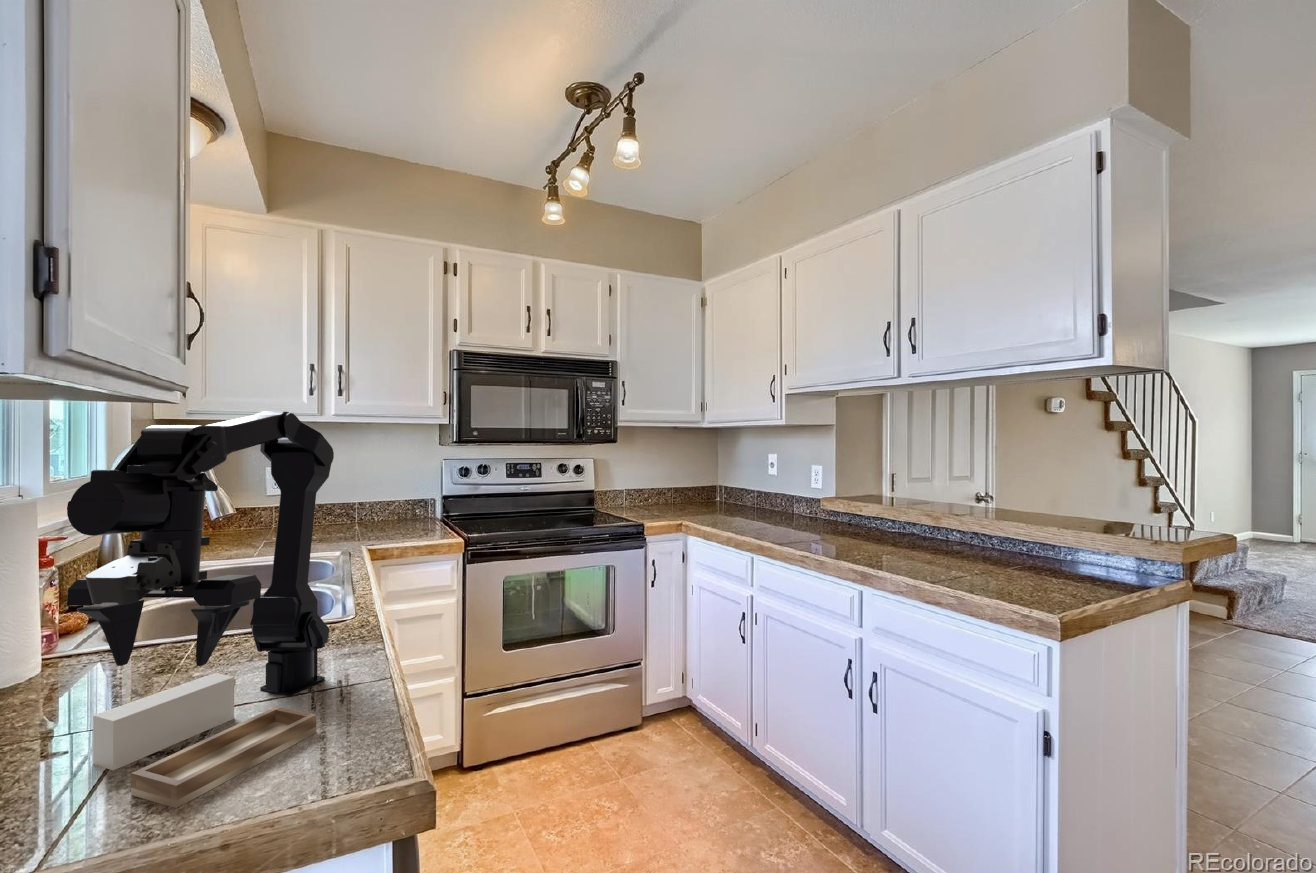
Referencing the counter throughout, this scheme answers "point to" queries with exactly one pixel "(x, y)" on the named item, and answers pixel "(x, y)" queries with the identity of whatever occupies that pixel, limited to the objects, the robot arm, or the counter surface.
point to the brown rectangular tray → (221, 757)
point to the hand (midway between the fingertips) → (161, 665)
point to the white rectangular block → (161, 720)
